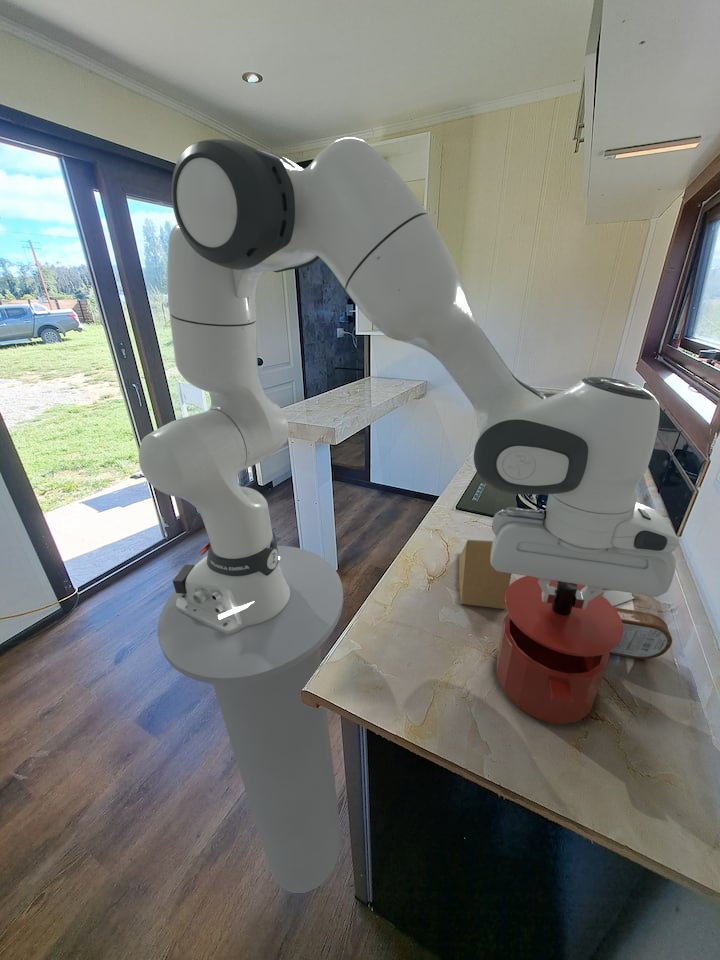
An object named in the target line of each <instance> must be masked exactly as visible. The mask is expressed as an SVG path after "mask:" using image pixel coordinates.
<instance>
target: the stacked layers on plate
mask: <svg viewBox="0 0 720 960" xmlns="http://www.w3.org/2000/svg"><path fill="white" fill-rule="evenodd" d="M585 586H586V585H585ZM600 595H601V596H603V597H604V598H605V599H606V600H607V601H608V602H609V603H610V604H611V605H612V606H613V607H616V606H618V605H621V604H623V603H626V602H629V601H632V600H634V599H635V596H633V594H631V593H629V592H623V591H616V590H610V589H604V588H603V590H602V593H601V594H600Z"/></svg>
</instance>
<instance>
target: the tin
mask: <svg viewBox="0 0 720 960" xmlns="http://www.w3.org/2000/svg"><path fill="white" fill-rule="evenodd" d="M613 607H614V608H615V609H616V611H617V612H618V614H619V616H620V618H621V620H622V623H623V630H624V632H623V637H622V639H621V642H620V643H619V645H618V646H617V647H616V648H615V649H614V650H612V651H610V652H609V654H610V655H616V656H622V657H626V658H632V659H637V660H651V659H655V658H658V657H660V656H663V655H664V654H666V653H667V652H668V651H669V649H670V648H671V647H672V644H673V637H672V635H671V632H670V631H669V627H668V624H667V623H666V622H665V620H664V619H663V618H661V617H659V616H658V615H656V614H653V613H650V612H646V611H641V610H636V609H635V610H634V609H628V608H623V607H617V606H613Z"/></svg>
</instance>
